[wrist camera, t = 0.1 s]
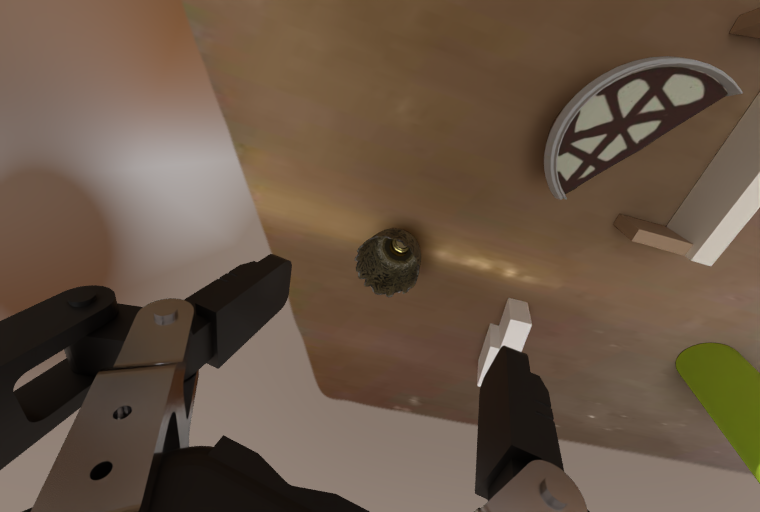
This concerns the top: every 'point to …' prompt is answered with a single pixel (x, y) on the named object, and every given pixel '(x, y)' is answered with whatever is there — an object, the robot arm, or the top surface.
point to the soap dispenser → (727, 395)
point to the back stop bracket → (714, 189)
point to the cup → (389, 262)
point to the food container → (627, 115)
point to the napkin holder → (505, 334)
